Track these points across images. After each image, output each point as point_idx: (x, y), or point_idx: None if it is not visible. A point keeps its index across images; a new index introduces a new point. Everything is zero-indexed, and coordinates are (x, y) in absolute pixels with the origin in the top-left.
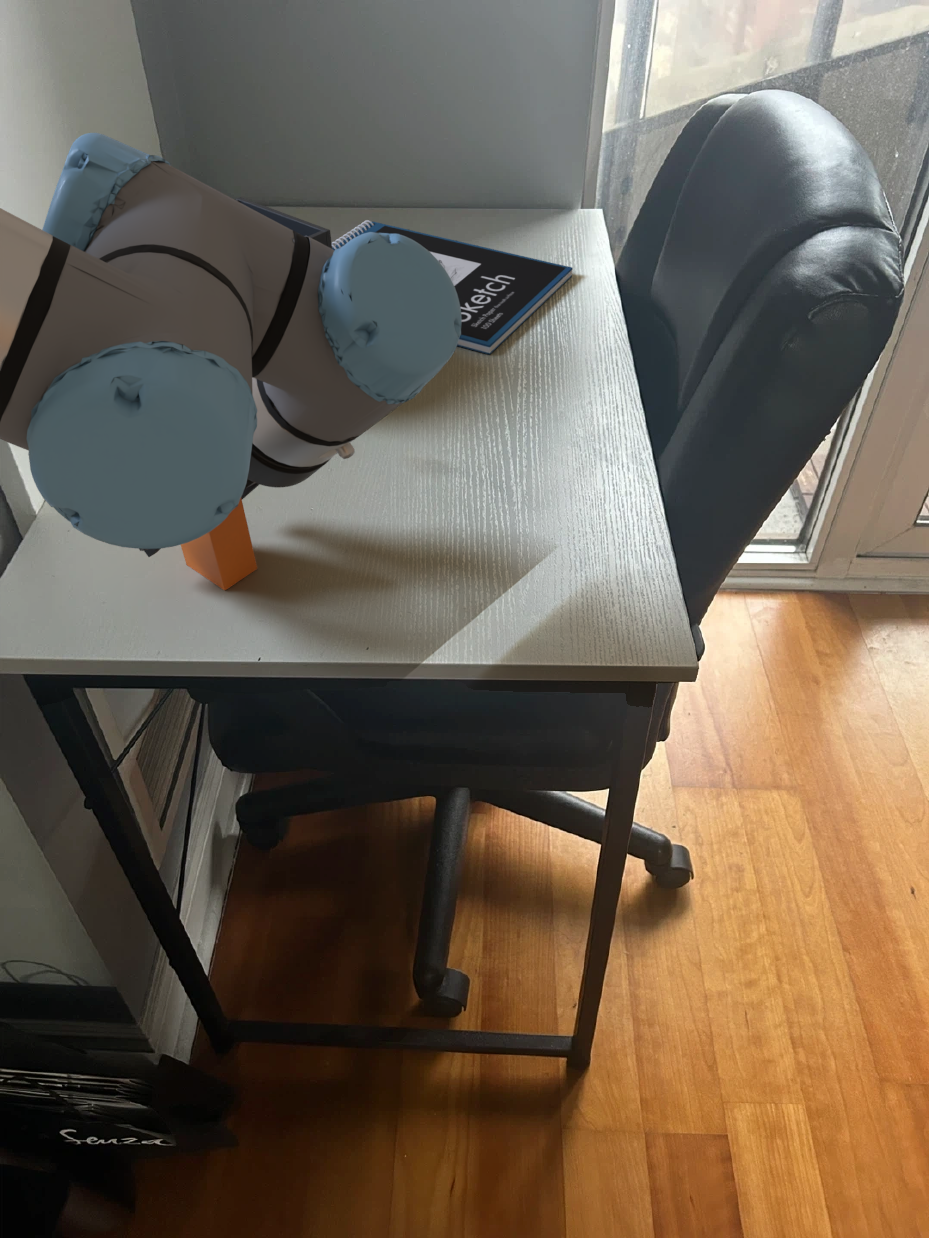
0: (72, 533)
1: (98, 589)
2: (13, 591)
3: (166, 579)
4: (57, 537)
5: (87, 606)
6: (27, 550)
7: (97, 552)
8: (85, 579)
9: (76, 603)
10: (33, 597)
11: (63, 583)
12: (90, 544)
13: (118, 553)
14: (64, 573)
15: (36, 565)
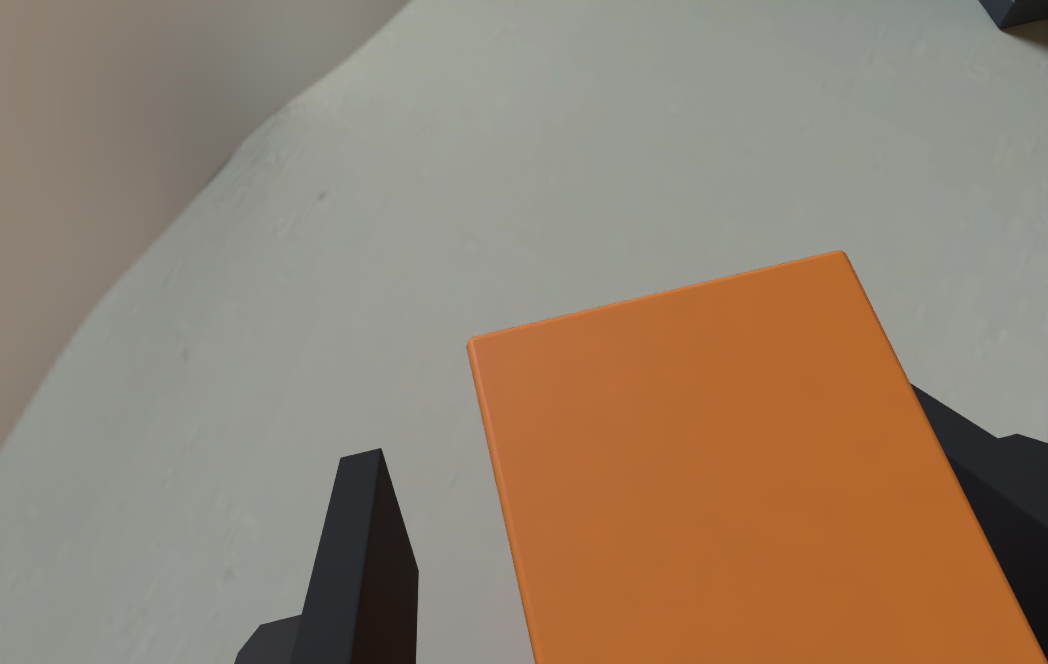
0: (323, 210)
1: (249, 497)
2: (69, 352)
3: (446, 593)
4: (283, 204)
5: (180, 557)
6: (194, 212)
7: (336, 327)
8: (245, 425)
9: (164, 520)
10: (91, 411)
11: (187, 403)
12: (339, 282)
13: (383, 368)
14: (214, 362)
15: (176, 283)
